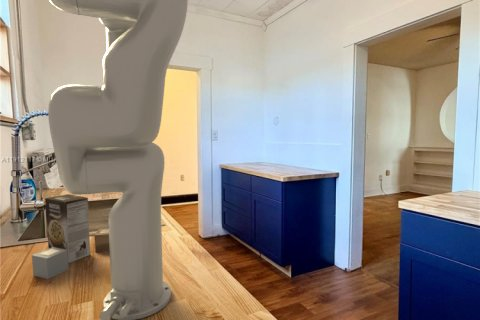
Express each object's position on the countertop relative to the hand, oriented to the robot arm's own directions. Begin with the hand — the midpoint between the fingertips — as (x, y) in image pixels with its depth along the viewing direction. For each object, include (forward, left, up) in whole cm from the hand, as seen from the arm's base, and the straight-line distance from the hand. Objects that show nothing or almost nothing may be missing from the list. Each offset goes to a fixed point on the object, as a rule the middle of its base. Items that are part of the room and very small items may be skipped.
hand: (125, 125), depth 77 cm
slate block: (-15, +12, -35) cm, 40 cm away
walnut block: (0, +7, -35) cm, 36 cm away
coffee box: (-6, +14, -35) cm, 38 cm away
